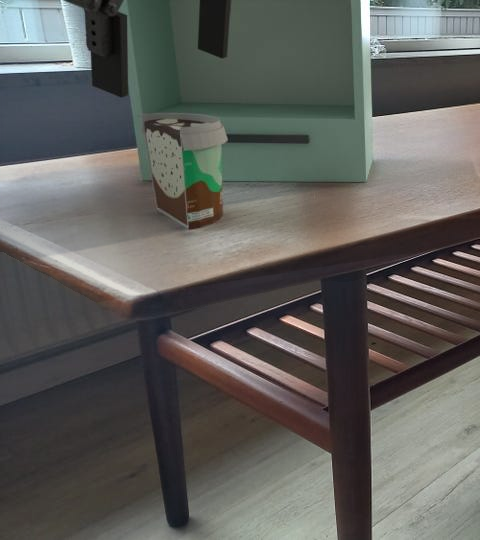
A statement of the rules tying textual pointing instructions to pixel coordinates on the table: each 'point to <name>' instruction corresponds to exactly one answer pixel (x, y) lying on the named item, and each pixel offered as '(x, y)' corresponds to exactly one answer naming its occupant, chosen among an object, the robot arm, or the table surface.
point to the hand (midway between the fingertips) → (166, 70)
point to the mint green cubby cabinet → (262, 84)
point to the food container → (186, 165)
